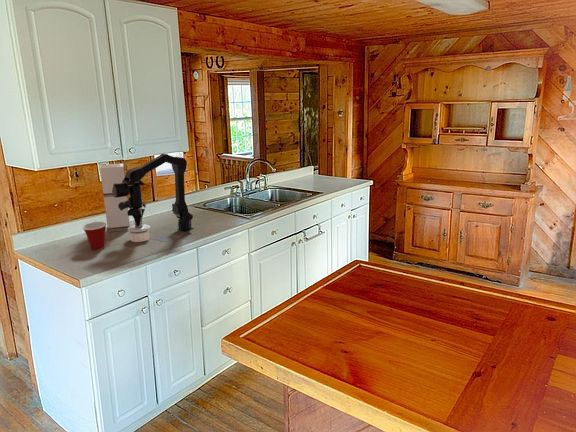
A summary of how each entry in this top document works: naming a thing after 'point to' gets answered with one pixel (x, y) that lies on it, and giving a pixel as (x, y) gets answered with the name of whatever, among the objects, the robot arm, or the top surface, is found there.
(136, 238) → the bowl
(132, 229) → the lid
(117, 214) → the mini fridge
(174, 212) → the robot arm
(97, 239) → the plastic cup
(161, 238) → the mat
